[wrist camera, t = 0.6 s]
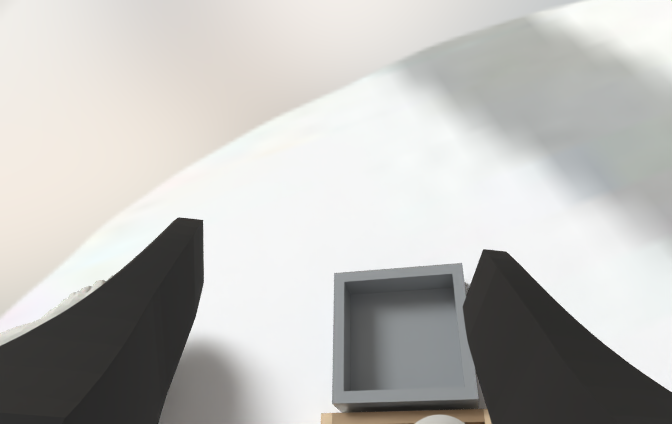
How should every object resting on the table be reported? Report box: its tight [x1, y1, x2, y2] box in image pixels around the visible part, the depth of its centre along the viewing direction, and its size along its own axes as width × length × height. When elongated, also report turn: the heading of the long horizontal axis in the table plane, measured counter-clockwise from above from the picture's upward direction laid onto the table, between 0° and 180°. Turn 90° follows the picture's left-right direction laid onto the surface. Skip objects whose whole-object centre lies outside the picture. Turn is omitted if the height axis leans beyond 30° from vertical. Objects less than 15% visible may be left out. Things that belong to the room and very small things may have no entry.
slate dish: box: [332, 263, 479, 413], centre depth 30 cm, size 7×7×2 cm
